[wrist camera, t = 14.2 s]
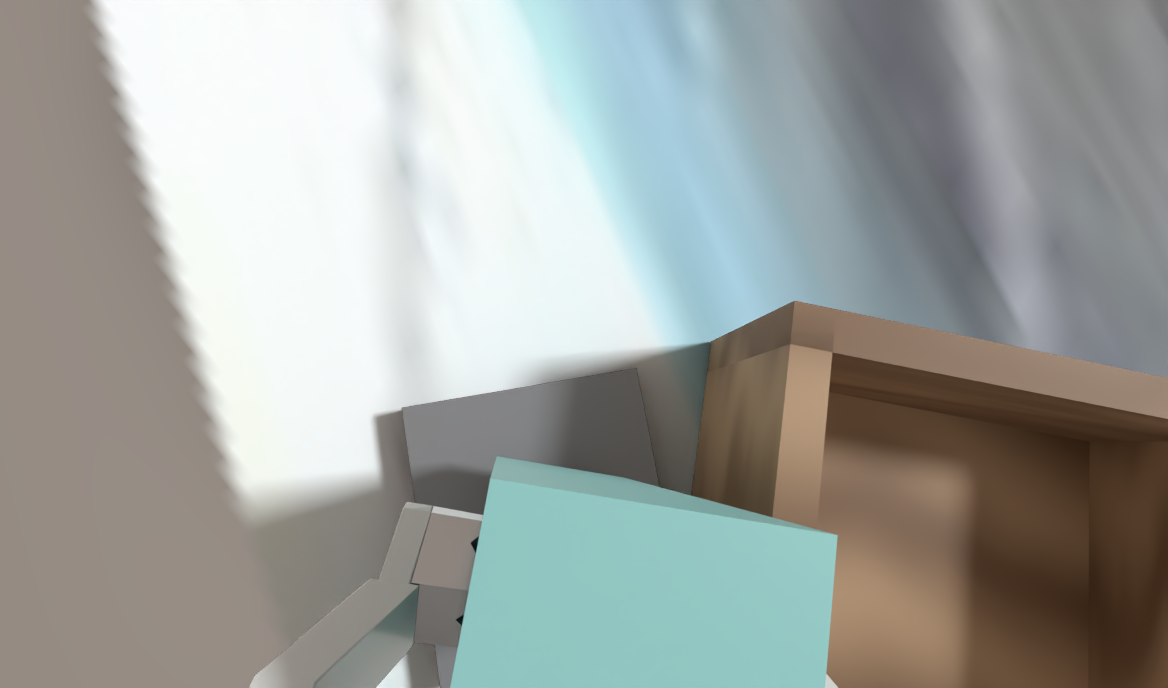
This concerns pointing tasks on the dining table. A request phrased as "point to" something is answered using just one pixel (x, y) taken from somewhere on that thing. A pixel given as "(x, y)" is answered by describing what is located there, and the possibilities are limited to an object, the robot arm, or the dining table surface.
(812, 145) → the dining table surface
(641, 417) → the coaster
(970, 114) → the dining table surface
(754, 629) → the block
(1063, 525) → the crate
